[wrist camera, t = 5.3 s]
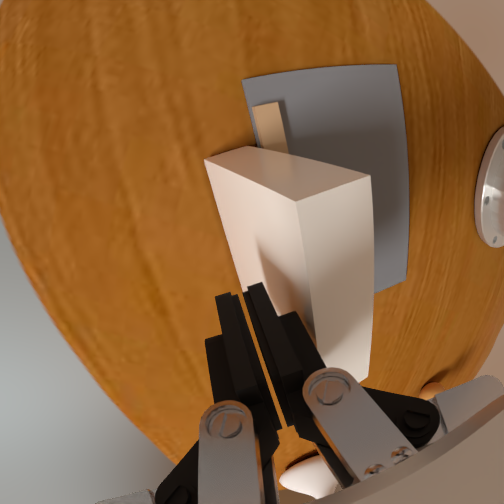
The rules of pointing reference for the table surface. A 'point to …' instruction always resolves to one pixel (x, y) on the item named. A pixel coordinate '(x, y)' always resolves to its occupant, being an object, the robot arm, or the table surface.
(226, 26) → the table surface
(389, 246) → the charcoal mat
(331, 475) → the flower in vase
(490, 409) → the robot arm
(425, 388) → the figurine
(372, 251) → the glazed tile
